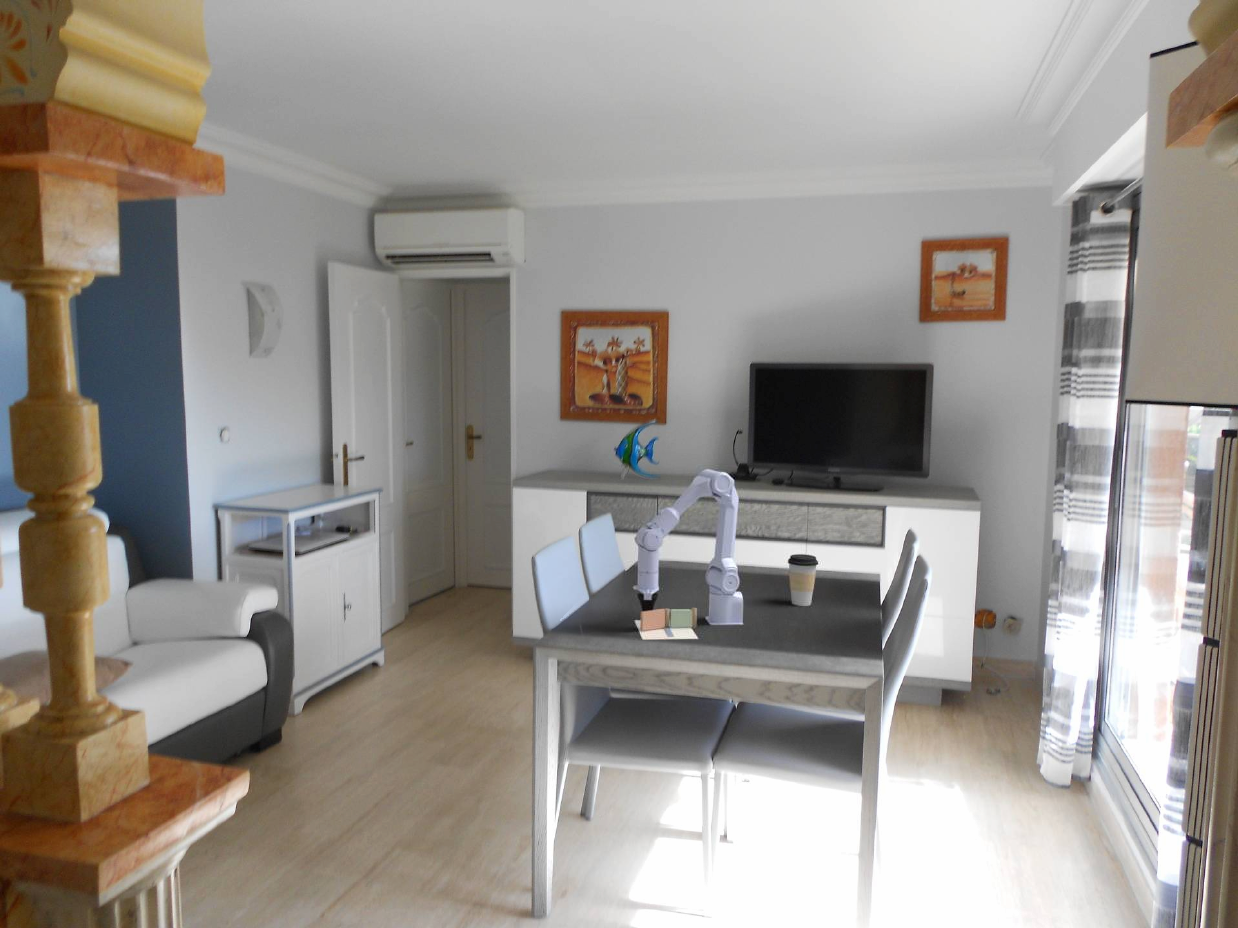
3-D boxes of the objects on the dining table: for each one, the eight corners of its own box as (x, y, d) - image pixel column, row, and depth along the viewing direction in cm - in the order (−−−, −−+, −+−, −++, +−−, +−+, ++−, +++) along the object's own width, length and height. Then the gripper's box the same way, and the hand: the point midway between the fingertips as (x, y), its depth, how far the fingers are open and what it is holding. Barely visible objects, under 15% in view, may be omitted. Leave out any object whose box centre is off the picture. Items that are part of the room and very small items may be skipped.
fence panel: (667, 625, 247) (667, 607, 246) (670, 626, 245) (670, 609, 245) (639, 629, 242) (640, 611, 242) (643, 630, 241) (643, 612, 240)
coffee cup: (782, 605, 274) (784, 557, 272) (790, 598, 282) (792, 552, 281) (813, 608, 270) (814, 560, 268) (819, 602, 278) (821, 555, 277)
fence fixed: (695, 626, 247) (696, 607, 247) (697, 627, 246) (697, 608, 245) (669, 626, 246) (670, 607, 246) (670, 628, 245) (671, 609, 244)
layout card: (685, 620, 254) (685, 619, 254) (698, 639, 235) (698, 637, 235) (634, 621, 253) (634, 619, 253) (642, 640, 234) (642, 638, 234)
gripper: (634, 565, 250) (633, 611, 252) (633, 576, 236) (632, 625, 237) (658, 565, 250) (658, 612, 251) (659, 577, 236) (658, 626, 237)
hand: (647, 619), depth 244 cm, fingers closed, pressing on fence panel
